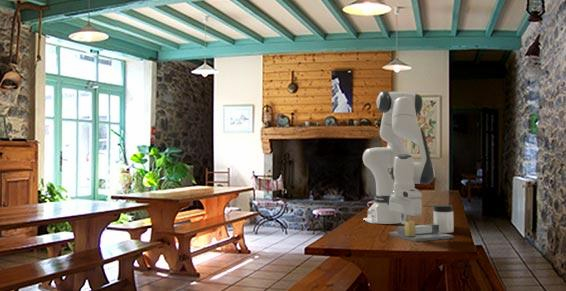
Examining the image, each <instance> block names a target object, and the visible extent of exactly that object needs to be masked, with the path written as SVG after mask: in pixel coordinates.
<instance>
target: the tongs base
mask: <svg viewBox="0 0 566 291" xmlns="http://www.w3.org/2000/svg"><path fill="white" fill-rule="evenodd" d="M425 225H433V223H428V224H427V223H425V224H418V225H416V226H425ZM397 231H398V234H401V235H405V225H404V226H402V225H398V226H397ZM405 236H406V235H405Z"/></svg>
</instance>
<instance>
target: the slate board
mask: <svg viewBox="0 0 566 291" xmlns="http://www.w3.org/2000/svg"><path fill="white" fill-rule="evenodd" d="M388 236H391V237H396V238H400V239H403V240H408V241H410V242H427V241H428V240H429V241H437V240H439V239H441V240H450V238H452V239H454V235H452V234H449V233H439V232H437V233H423V234H415V236H405V235H401V234H398V230H397V231H389V232H388ZM439 241H440V240H439Z"/></svg>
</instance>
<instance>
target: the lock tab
mask: <svg viewBox="0 0 566 291" xmlns="http://www.w3.org/2000/svg"><path fill="white" fill-rule="evenodd" d="M404 226H405V235H406V236H415V226H416V222H415V220H414V221H413V220H409V221H405V225H404Z"/></svg>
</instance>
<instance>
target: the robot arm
mask: <svg viewBox="0 0 566 291" xmlns="http://www.w3.org/2000/svg"><path fill="white" fill-rule="evenodd" d="M423 106H424V105H423V97H422V96H421V95H420V94H418V93H415V92H407V91H388V90H387V91H385V90H383V91H381V92H379V93H378V96H377V98H376V107H377V108H376V109H377V110H378V112H381V113H382V117H381V122H380V128H379V136H380V138H381V139H382V140H383V141H384V142H386V143H387V146H386V147H385V146H384V147H382V146H381V147H371V148H366V149H365V150H364V152H363V154H362V161H363V162H362V163H363V164H364V166H365V167H366V168H368V170H370V171H371V173H372V175H373V177H374V181H375V195H374V196H373V197H374V203H373V204H372V205H371V206H370V207H369V208H367V209H368V210H367V212H366V213H367V217H363V221H364V220H365V221H366V222H367V223H370V224H381V225H383V224H384V225H393V224H401V225H404V226H405V221H410V218H411V217H419V216H422V214H423V212H422V211H423V200H422V197H423V194H422V192H421V191H420V190H419V189H417V188H415V187H416V185H415V184H419V185H429V184H431V182H433V181H434V179H435V173H436V172H435V168H434V165H433V163H432V159H431V158H432V157H431V154H430V150H429V146H428V141H427V136H426V133H425V131H424V129H423V128H421V127H420V126H419V125H418V121H417V115H419V113H421V111H422V109H423ZM403 140H406V141H409V142H411V143H414V144H415V145H417V147H418V150H419V155H420V160H421V161H414V157H413V156H412V155H411V154H410V152H409V150H408V149H407V148H406V147H405V146H404V143H403ZM389 169H391V171H390V172H391V174H390V172H389Z"/></svg>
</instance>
